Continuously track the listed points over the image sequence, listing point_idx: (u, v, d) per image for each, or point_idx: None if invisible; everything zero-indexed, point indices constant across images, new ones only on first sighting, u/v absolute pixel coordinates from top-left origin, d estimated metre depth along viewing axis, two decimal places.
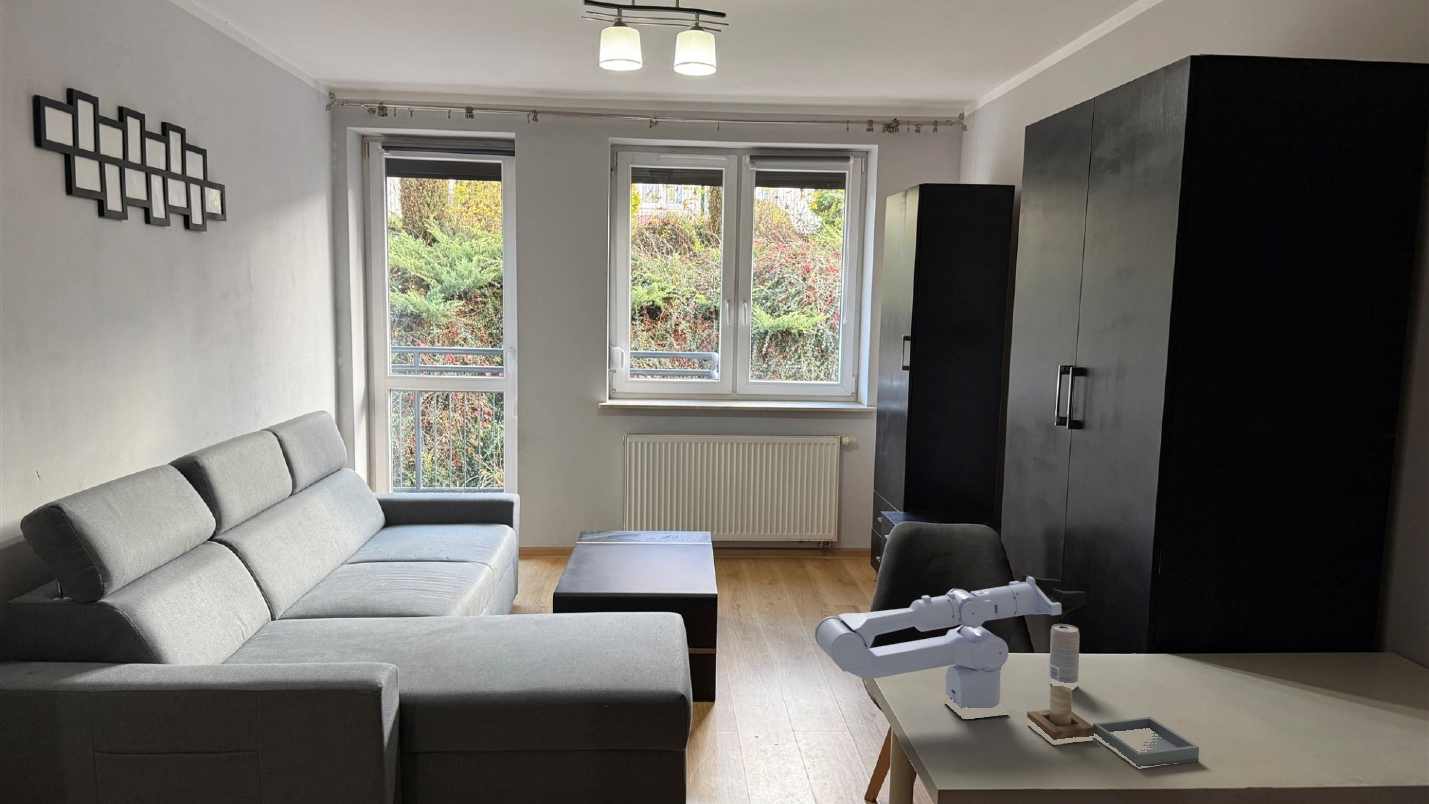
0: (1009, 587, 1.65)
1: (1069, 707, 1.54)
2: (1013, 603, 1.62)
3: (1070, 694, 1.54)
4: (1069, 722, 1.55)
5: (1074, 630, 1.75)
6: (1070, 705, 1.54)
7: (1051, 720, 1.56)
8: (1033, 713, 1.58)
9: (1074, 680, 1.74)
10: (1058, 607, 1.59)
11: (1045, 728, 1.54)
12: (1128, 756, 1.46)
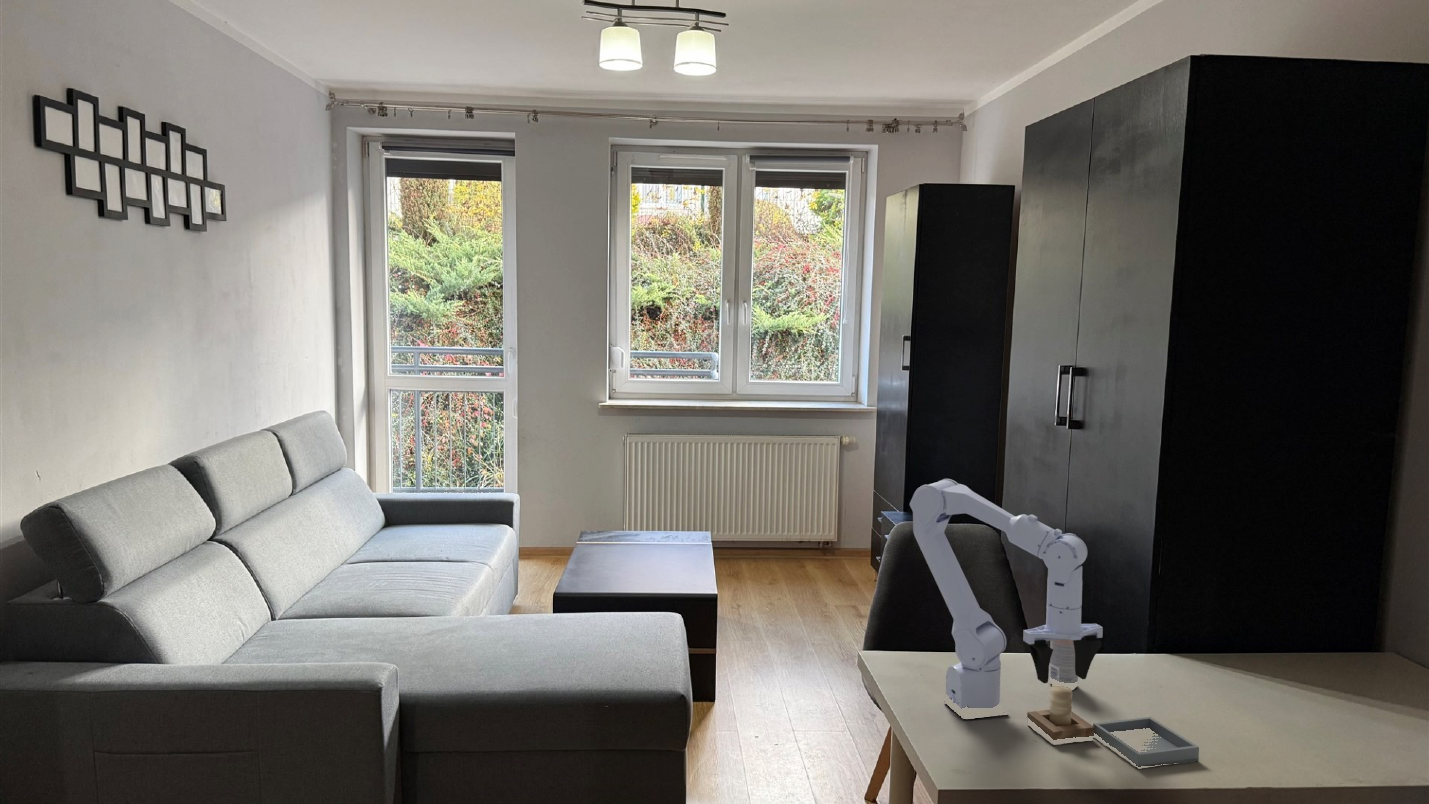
0: (1072, 609, 1.51)
1: (1069, 707, 1.54)
2: (1061, 605, 1.52)
3: (1070, 694, 1.54)
4: (1069, 722, 1.55)
5: None
6: (1070, 705, 1.54)
7: (1051, 720, 1.56)
8: (1033, 713, 1.58)
9: (1074, 680, 1.74)
10: (1027, 639, 1.53)
11: (1045, 728, 1.54)
12: (1128, 756, 1.46)
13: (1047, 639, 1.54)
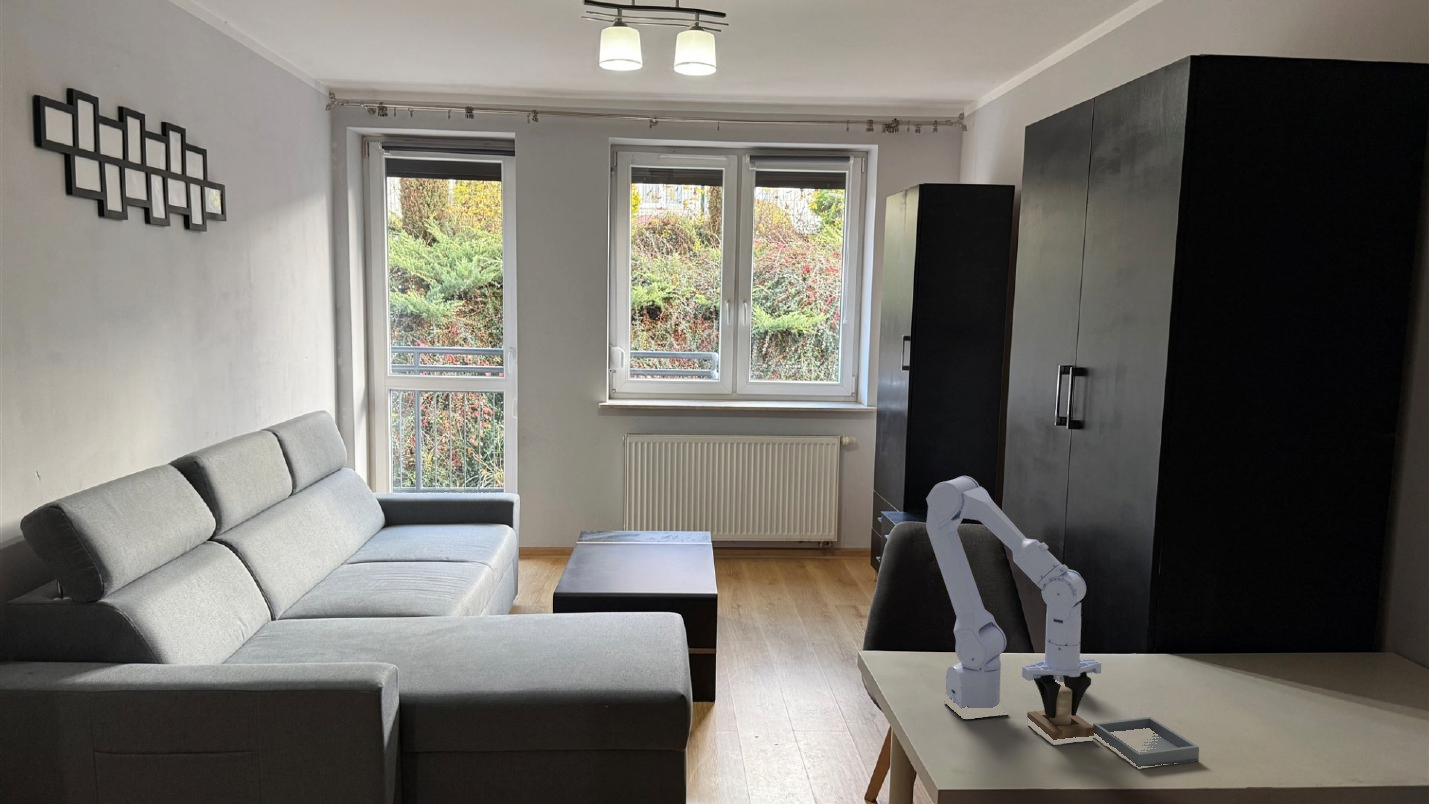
0: (1070, 646, 1.52)
1: (1069, 707, 1.54)
2: (1060, 641, 1.52)
3: (1070, 694, 1.54)
4: (1069, 722, 1.55)
5: None
6: (1070, 705, 1.54)
7: (1051, 720, 1.56)
8: (1033, 713, 1.58)
9: None
10: (1026, 676, 1.53)
11: (1045, 728, 1.54)
12: (1128, 756, 1.46)
13: (1046, 675, 1.54)
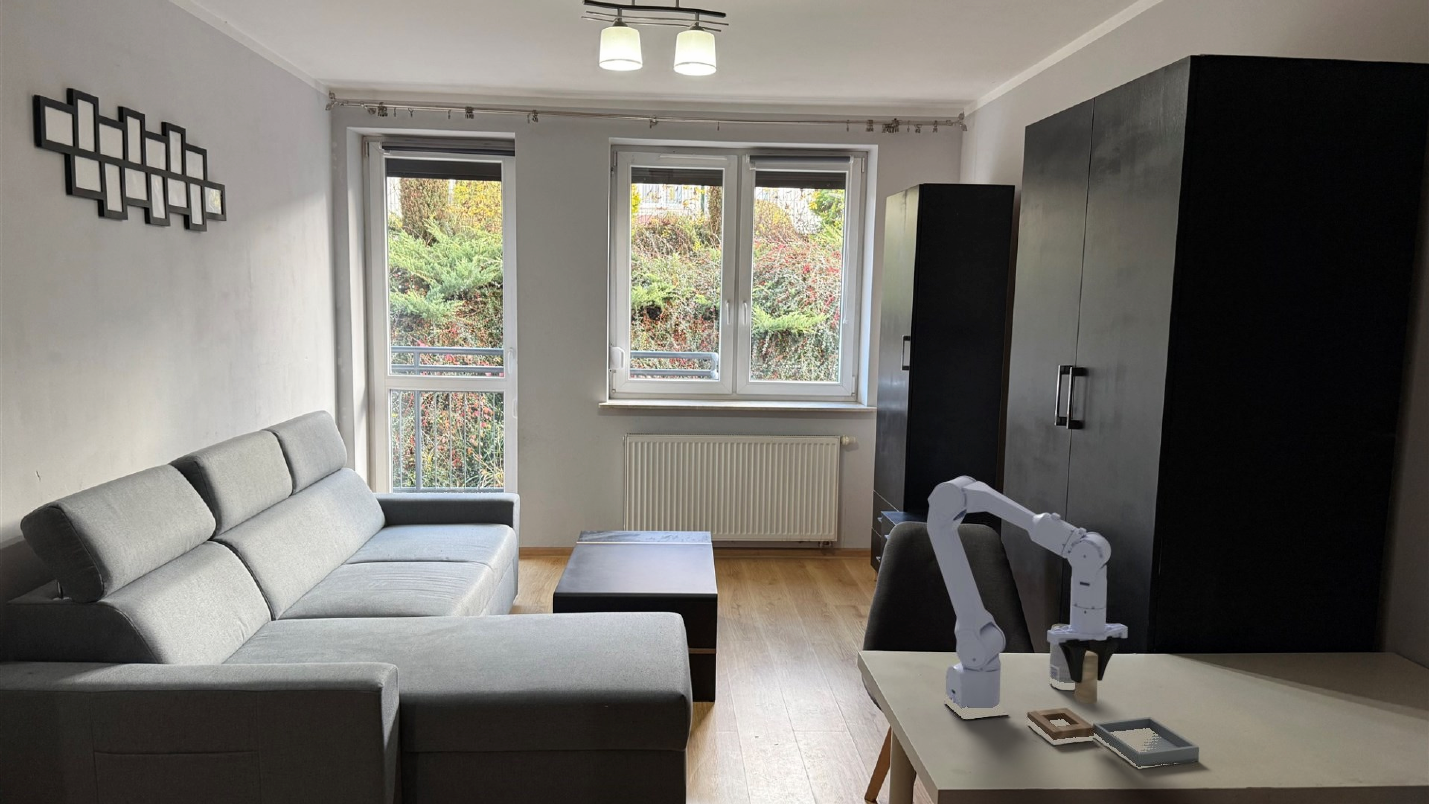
0: (1096, 609, 1.50)
1: (1095, 672, 1.52)
2: (1087, 605, 1.50)
3: (1096, 658, 1.52)
4: (1095, 687, 1.52)
5: None
6: (1096, 669, 1.52)
7: (1077, 685, 1.53)
8: (1033, 713, 1.58)
9: None
10: (1051, 640, 1.51)
11: (1045, 728, 1.54)
12: (1128, 756, 1.46)
13: (1071, 639, 1.52)
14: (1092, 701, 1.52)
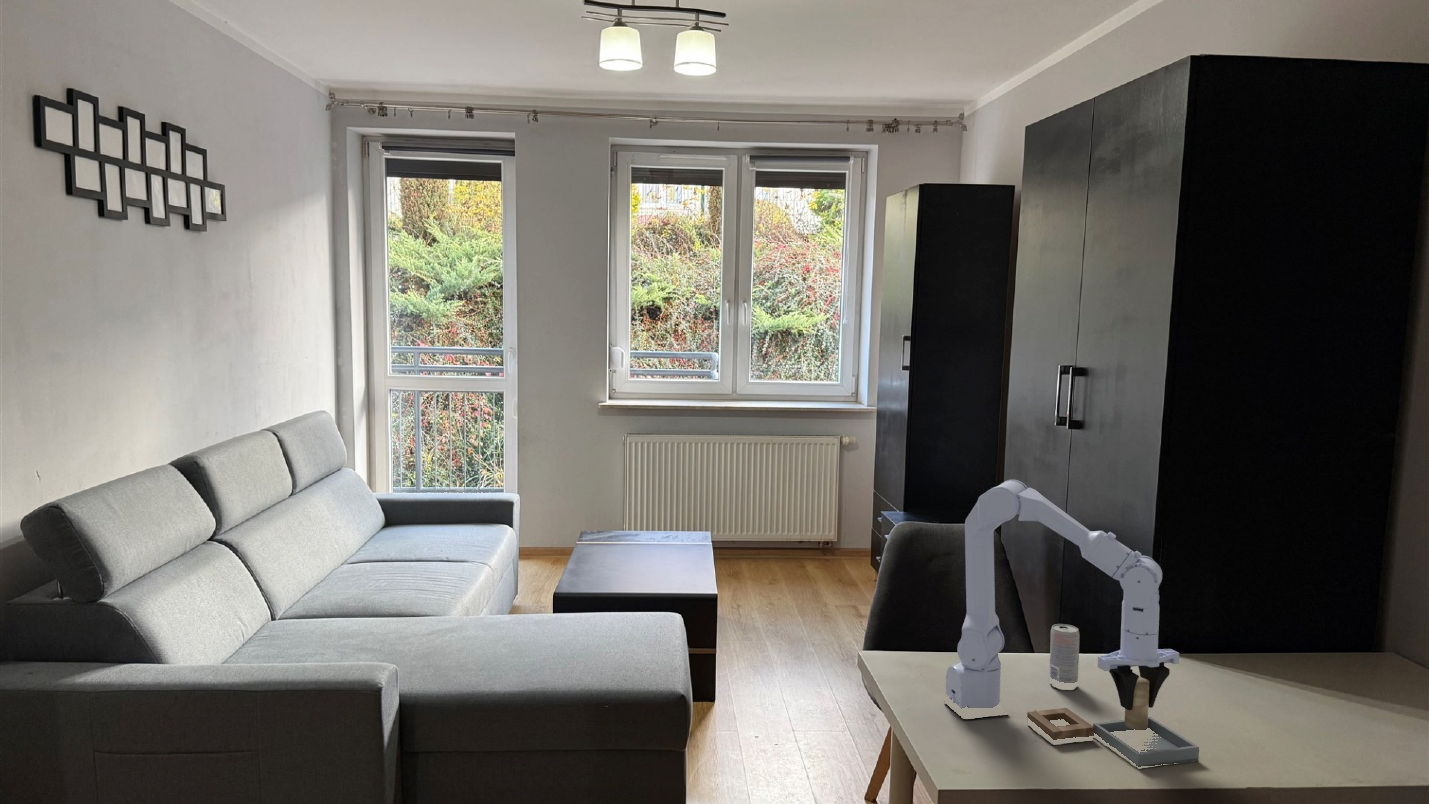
0: (1149, 635, 1.46)
1: (1147, 698, 1.49)
2: (1141, 631, 1.47)
3: (1148, 685, 1.49)
4: (1146, 714, 1.49)
5: (1074, 630, 1.75)
6: (1147, 696, 1.49)
7: (1127, 712, 1.50)
8: (1033, 713, 1.58)
9: (1074, 680, 1.74)
10: (1102, 666, 1.48)
11: (1045, 728, 1.54)
12: (1128, 756, 1.46)
13: (1122, 665, 1.49)
14: (1143, 728, 1.49)
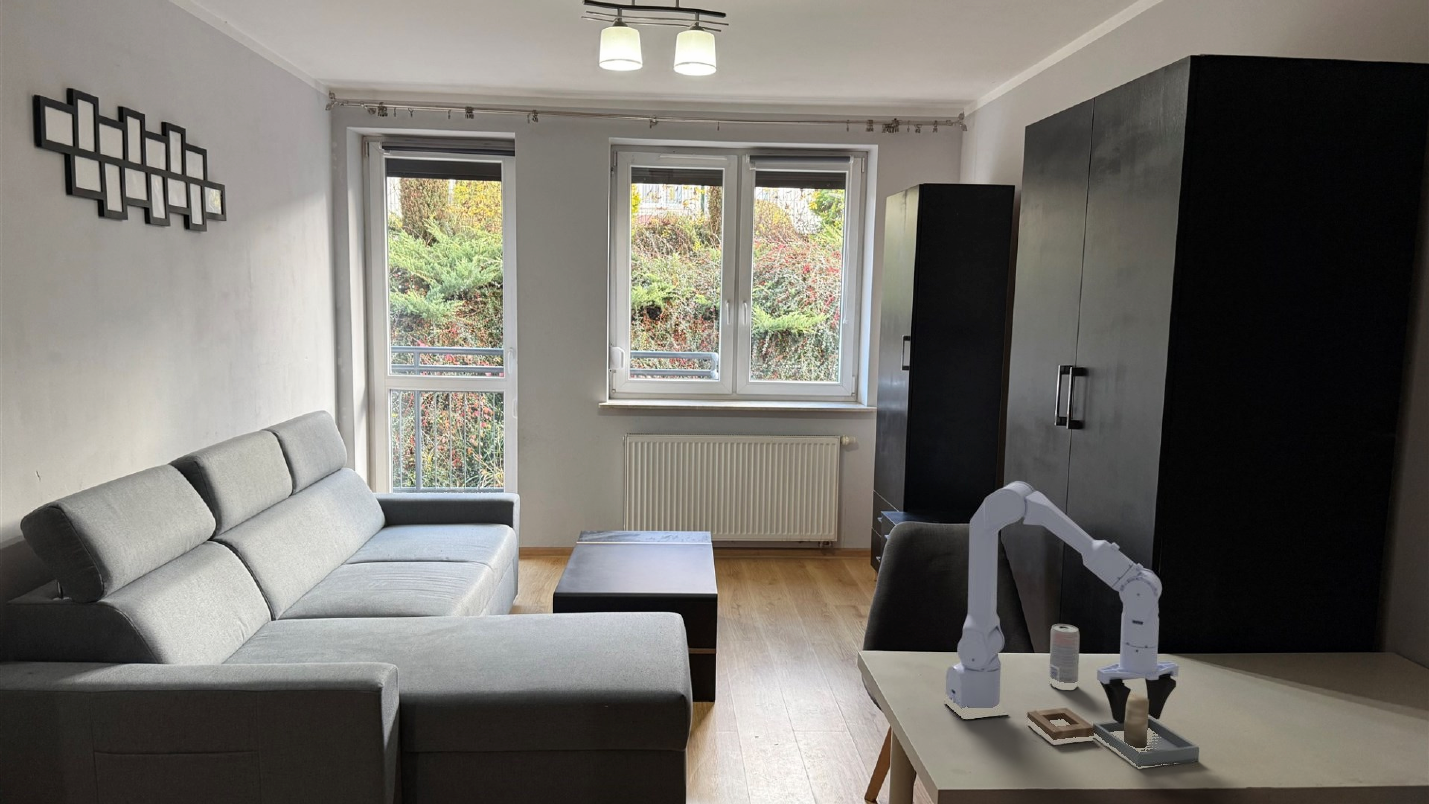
0: (1149, 648, 1.47)
1: (1146, 717, 1.49)
2: (1140, 643, 1.47)
3: (1147, 703, 1.49)
4: (1146, 732, 1.49)
5: (1074, 630, 1.75)
6: (1147, 714, 1.49)
7: (1127, 730, 1.50)
8: (1033, 713, 1.58)
9: (1074, 680, 1.74)
10: (1102, 679, 1.48)
11: (1045, 728, 1.54)
12: (1128, 756, 1.46)
13: (1122, 678, 1.49)
14: (1142, 746, 1.49)
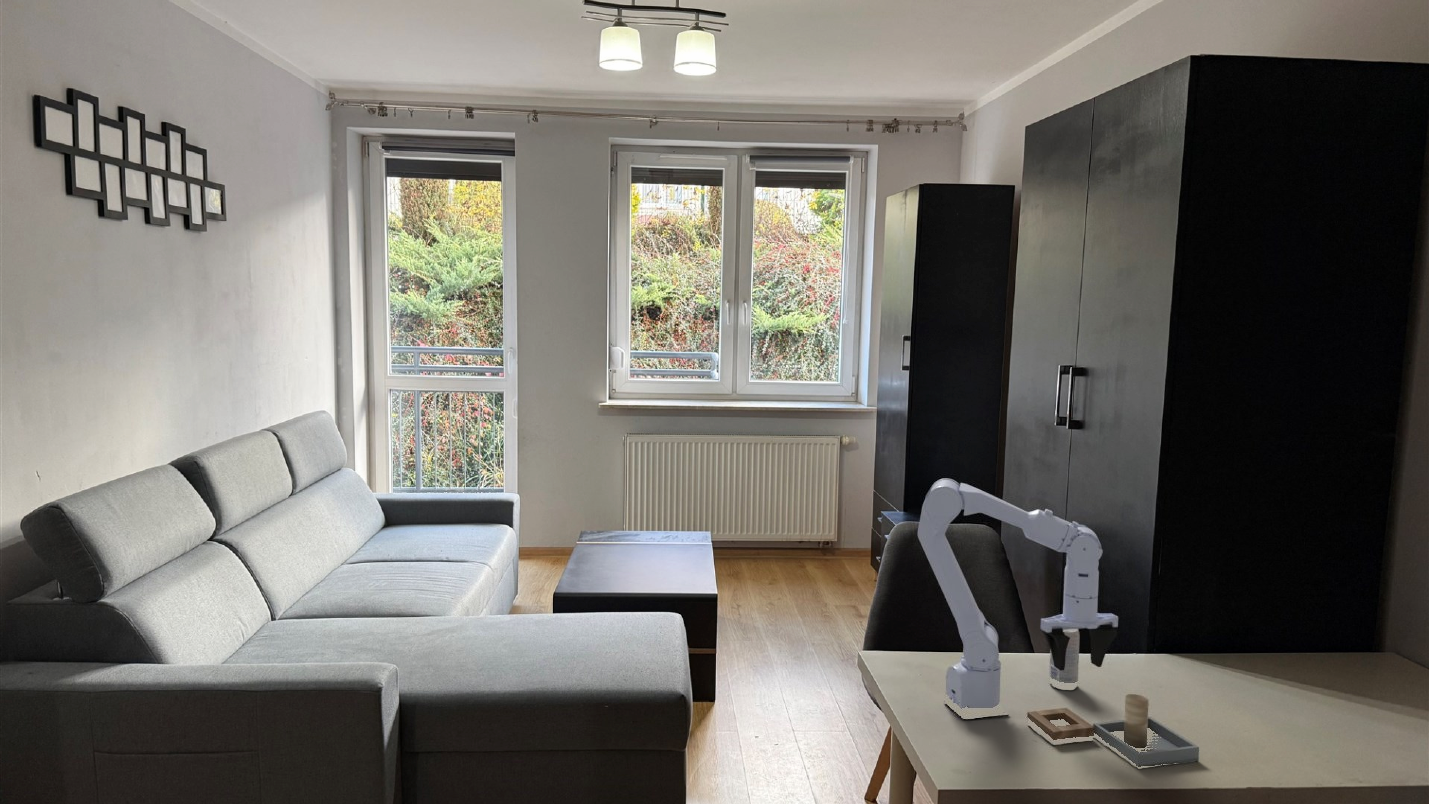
0: (1088, 599, 1.56)
1: (1146, 716, 1.49)
2: (1085, 595, 1.56)
3: (1147, 703, 1.49)
4: (1146, 732, 1.49)
5: (1074, 630, 1.75)
6: (1146, 714, 1.49)
7: (1127, 730, 1.50)
8: (1033, 713, 1.58)
9: (1074, 680, 1.74)
10: (1044, 628, 1.57)
11: (1045, 728, 1.54)
12: (1128, 756, 1.46)
13: (1064, 628, 1.58)
14: (1142, 746, 1.49)
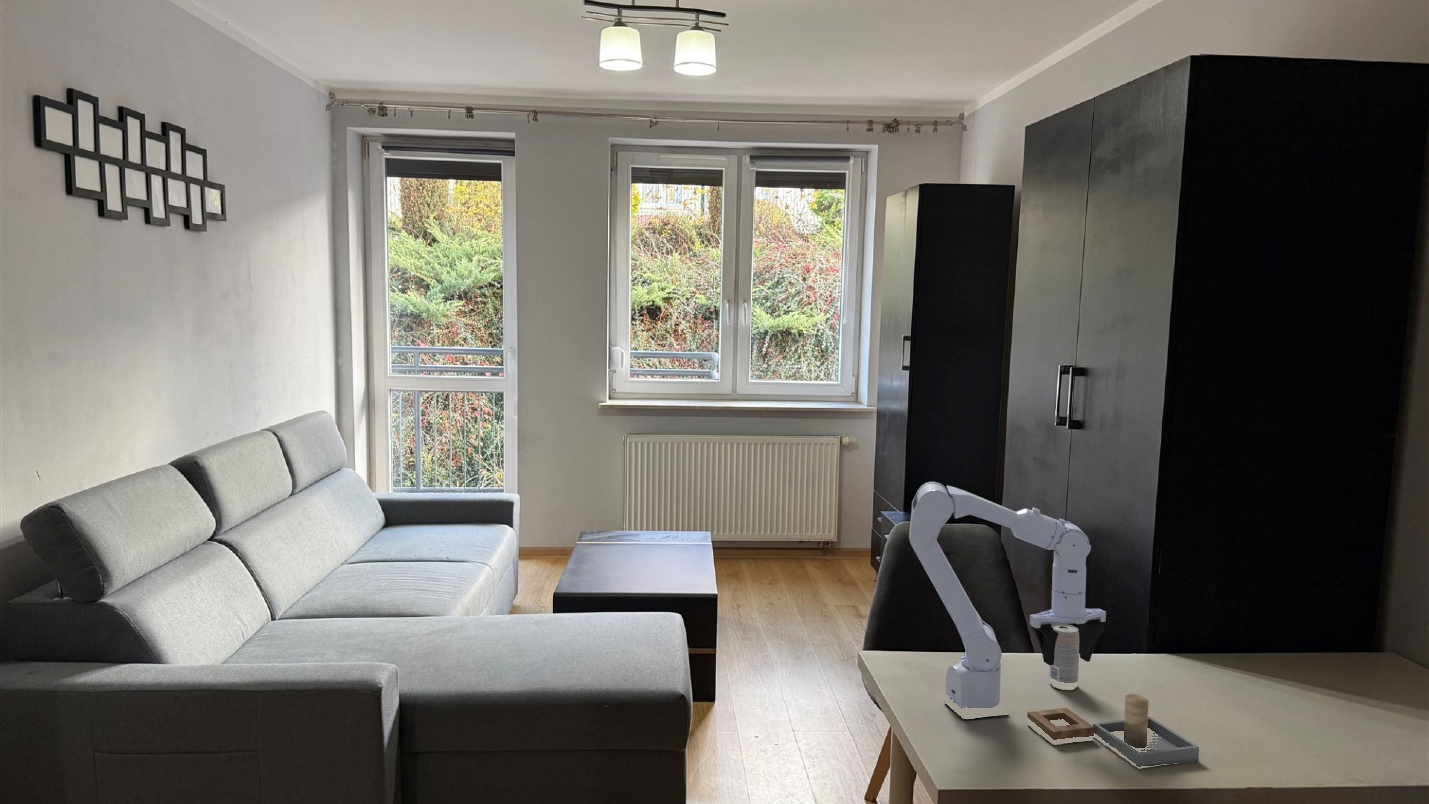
0: (1076, 594, 1.58)
1: (1146, 716, 1.49)
2: (1075, 591, 1.58)
3: (1147, 703, 1.49)
4: (1146, 732, 1.49)
5: (1074, 630, 1.75)
6: (1146, 714, 1.49)
7: (1127, 730, 1.50)
8: (1033, 713, 1.58)
9: (1074, 680, 1.74)
10: (1033, 623, 1.60)
11: (1045, 728, 1.54)
12: (1128, 756, 1.46)
13: (1053, 623, 1.61)
14: (1142, 746, 1.49)
